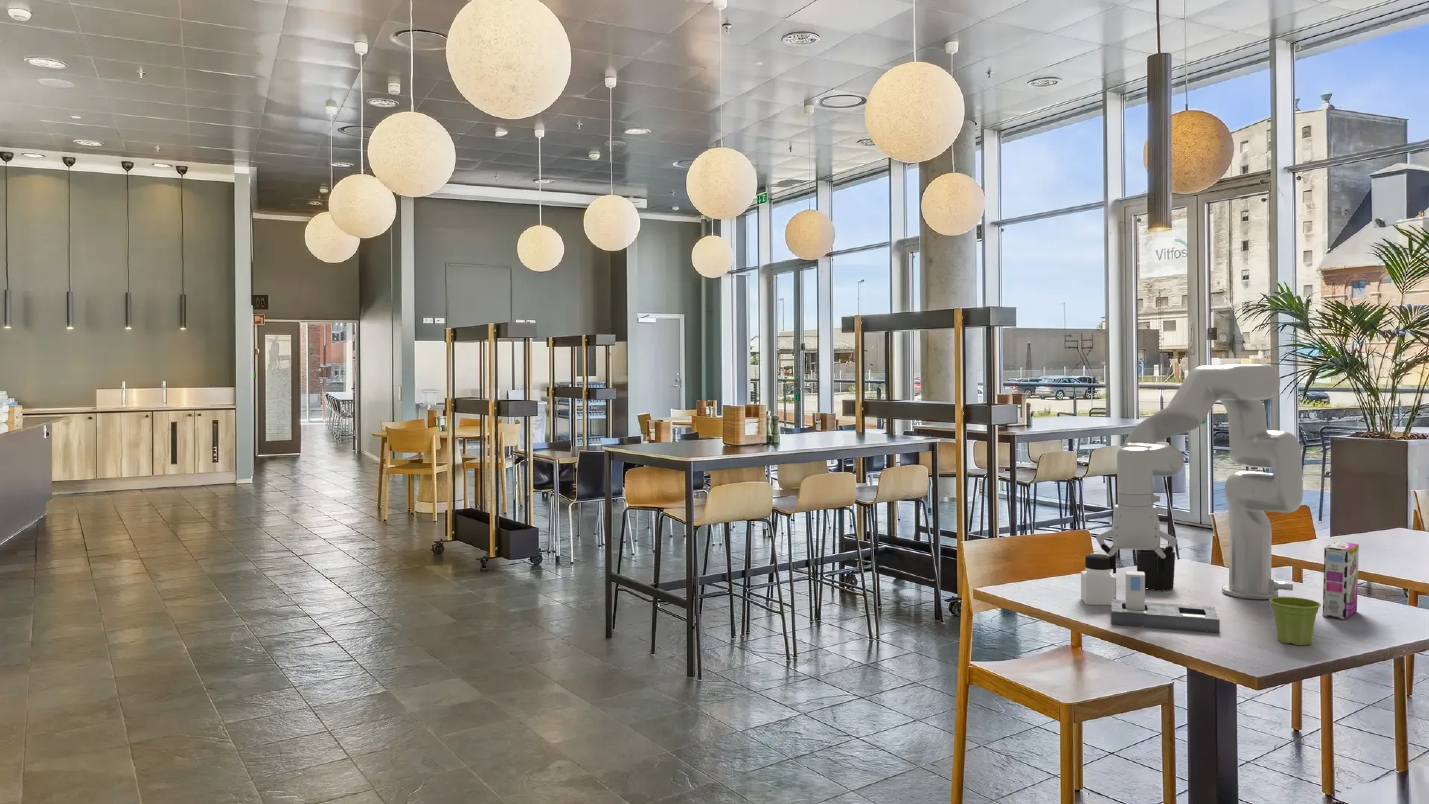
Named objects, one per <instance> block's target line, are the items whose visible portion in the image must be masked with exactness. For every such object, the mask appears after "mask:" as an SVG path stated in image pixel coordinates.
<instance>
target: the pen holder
mask: <svg viewBox="0 0 1429 804" xmlns="http://www.w3.org/2000/svg"><path fill="white" fill-rule="evenodd" d="M1160 548H1161V549H1162V550H1163V549H1165V548H1166V547H1161V546H1160ZM1135 553H1136V554H1135V555H1136V556H1135V557H1136V571H1138V572H1144V573H1145V588H1148V589H1154V590H1153V591H1157V590H1166V591H1171V590H1173V588H1174V583H1175V565H1176V563H1175V562H1176V561H1175V560H1176V552H1174V551H1172V552H1171V553H1169V554H1168V555H1167V556H1166V557H1165V558H1164V563H1165V571H1161V573H1162V576H1159V575H1158V570H1157V557H1158V554H1157V553H1156V552H1155V551H1154V550H1135ZM1148 589H1147V590H1148ZM1170 589H1171V590H1170Z"/></svg>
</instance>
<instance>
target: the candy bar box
mask: <svg viewBox="0 0 1429 804" xmlns="http://www.w3.org/2000/svg"><path fill="white" fill-rule="evenodd" d="M1359 546H1360V545H1359V544H1358V543H1353V542H1345V541H1344V542H1343V541H1335V542H1334V543H1331V544H1329V545H1327V546H1324V548H1323V551H1324V553H1323V586H1322V587H1323V591H1322V594H1323V595H1322V617H1325V618H1330V619H1336V620H1337V619H1338V620H1347V619H1349V617H1351V616H1352V615H1353V614H1355V613H1356V612H1357V610H1358V584H1359V583H1358V581H1359V580H1358V579H1359V577H1358V576H1359V550H1360V548H1359Z"/></svg>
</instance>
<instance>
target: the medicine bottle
mask: <svg viewBox="0 0 1429 804" xmlns="http://www.w3.org/2000/svg"><path fill="white" fill-rule="evenodd" d="M1084 558H1085V562H1084V564H1085V567H1084V568H1085V569H1084V570H1082V571H1080V599H1081V600H1082V601H1083V602H1084V604H1085V605H1086V606H1109V607H1111V599H1113V600H1117V577H1115V576H1114V575H1113V574H1114V573H1113V572H1112V569H1110V560H1109V555H1108V554H1104V553H1088V554H1087V555H1086V556H1085V557H1084Z"/></svg>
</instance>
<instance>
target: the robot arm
mask: <svg viewBox="0 0 1429 804" xmlns="http://www.w3.org/2000/svg"><path fill="white" fill-rule="evenodd" d="M1280 387H1281V377H1280V374H1279V371H1277V369H1276V368H1274V367H1273V366H1272V365H1269V364H1222V365H1220V364H1219V365H1218V364H1217V365H1216V364H1214V365H1200V366H1196V367H1195V368H1192V370H1191V371H1189V373H1188V374H1187V376H1186V377H1185V379H1184V380H1183V382H1182V383H1181V385H1180V386H1179V388H1178V389H1177V391H1176V392H1175V394H1174V396H1172V399H1171V400H1170V402H1169V403H1168V405H1167V406H1166V407H1164V408H1163V409H1161V410H1158V411H1157V412H1155V413H1154V414H1152V415H1151V416H1149V417H1147V418H1145V419H1144V420H1142V421H1141V422H1139V423H1138V424H1137V425H1136V426H1135V427H1134V428H1133V429H1132V430H1131V431H1130V433H1129V434H1128V436H1127V437H1126V439H1125V441H1124V442H1123V444H1122V446H1121V448H1119V450H1118V451H1117V453H1116V471H1117V472H1116V473H1117V475H1116V476H1117V478H1116V479H1117V504H1115V505H1114V507H1113V512H1112V513H1113V514H1112V529H1111V528H1110V529H1109V530H1107V531H1105V532H1103V533H1101V534H1100V533H1099V534H1098V535H1096V537H1095V539H1096V542H1097V543H1098V544H1099V546H1100V549H1101V550H1103V551H1104V552H1105V553H1106V555H1108V556H1109V560H1110V569H1111V570H1112V574H1117V555H1116V553H1117V552H1118V551H1119V550H1120V549H1121V550H1133V551H1134V550H1135V551H1136V550H1154V551H1155V552H1156V553H1157V554H1158V557H1157V570H1158V575H1159V576H1162V573H1161V571H1165V563H1164V558H1165V557H1166V556H1167V555H1168V554H1169V553H1171V552H1174V551H1173V550H1174V548H1175V547H1176V545H1177V544H1178V538H1177V537H1174V536H1173V535H1171V534H1168V533H1167V532H1164V531H1162V530H1161V527H1160V518H1159V511H1158V508H1157V505H1154V504H1155V503H1157V502H1158V503H1159V502H1161V496H1160V495H1156V494H1155V493H1154V485H1153V484H1154V483H1153V482H1154V481H1153V480H1154V477H1165V478H1166V477H1167V478H1168V477H1172V476H1175V475H1177V474H1178V473H1179V472H1181V470H1182V469H1183V466H1184V463H1185V458H1184V455H1183V453H1182V451H1181V450H1180V449H1179V448H1178V447H1176V446H1174V445H1170V444H1164V443H1163V444H1162V443H1159V442H1161V441H1163V440H1165V439H1168V438H1170V437H1171V438H1172V437H1175V436H1179V435H1183V434H1185V433H1189V432H1191V431H1194V430H1196V429H1199V427H1200V426H1201V425H1202V424H1203V422H1204V421H1205V419H1206V417H1207V416H1208V414H1209V413H1210V411H1211V409H1212V408H1213V406H1214V405H1215V403H1216V402H1217V401H1220V402H1221V403H1222V405H1223V406H1224V408H1225V410H1226V414H1227V421H1228V438H1229V439H1228V441H1229V455H1230V458H1231V460H1232V461H1233V462H1234V464H1237V465H1239V466H1243V467H1249V468H1260V469H1262V468H1263V469H1271V470H1272V472H1273V473H1270V472H1263V471H1251V470H1242V471H1240V470H1239V471H1236V472H1234V473H1232V474H1230V475H1229V476H1228V477H1227V478H1226V480H1225V484H1224V494H1225V499H1226V503H1227V509H1228V524H1229V525H1228V526H1229V527H1228V529H1229V530H1228V532H1229V533H1228V534H1229V535H1228V536H1229V537H1228V540H1229V542H1228V584H1226V585H1223V586H1222V588H1221V591H1222V593H1224V594H1225V595H1228V596H1232V597H1235V598H1239V599H1247V600H1249V599H1250V600H1269V599H1270V598H1274V597H1279V590H1282V591H1283V590H1284V591H1293V590H1294V585H1293V582H1286V581H1282V580H1281V581H1278V580H1275V579H1274V578H1273V577H1272V541H1273V540H1272V539H1273V538H1272V535H1273V533H1272V532H1273V530H1272V525H1271V521H1270V519H1269V518H1268V516H1267V514H1266V512H1265V511H1267V512H1273V513H1274V512H1275V513H1281V514H1283V513H1284V514H1285V513H1286V514H1288V513H1293V512H1296V511H1298V509H1299V508H1300V506H1301V505H1302V501H1303V495H1304V486H1303V484H1304V482H1303V460H1302V459H1303V458H1302V448H1301V443H1300V442H1299V440H1298V438H1297V437H1296V436H1295V435H1294V434H1293V433H1291V432H1288V431H1284V430H1270V429H1269V428H1268V424H1267V414H1266V413H1267V412H1266V409H1265V406H1264V404H1263V402H1262V401H1263V400H1268V399H1272V398H1273V397H1274V396H1275V395H1276V394H1277V393H1278V391H1279V389H1280ZM1261 400H1262V401H1261ZM1111 537H1112V546H1111V547H1110V546H1109V545H1107V544H1106V542H1105V540H1106V539H1108V538H1111ZM1161 538H1162V539H1163V540H1165V541H1168V545H1167V546H1165V547H1164V548H1165V549H1163V550H1162V549H1161V548H1162V547H1161ZM1160 547H1161V548H1160Z"/></svg>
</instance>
